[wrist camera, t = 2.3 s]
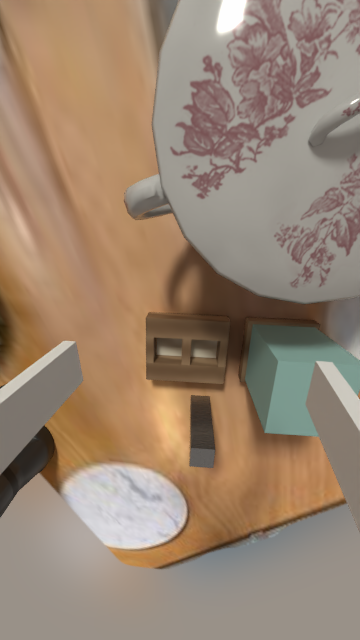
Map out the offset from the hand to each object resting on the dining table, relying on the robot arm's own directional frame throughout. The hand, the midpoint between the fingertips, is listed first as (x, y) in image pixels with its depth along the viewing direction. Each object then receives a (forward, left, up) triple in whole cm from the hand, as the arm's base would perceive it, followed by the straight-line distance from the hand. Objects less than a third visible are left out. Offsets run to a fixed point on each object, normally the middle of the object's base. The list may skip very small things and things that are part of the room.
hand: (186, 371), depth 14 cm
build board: (-11, 0, -27) cm, 29 cm away
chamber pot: (+15, -10, -27) cm, 33 cm away
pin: (-23, -3, -27) cm, 35 cm away
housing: (-11, -15, -25) cm, 31 cm away
